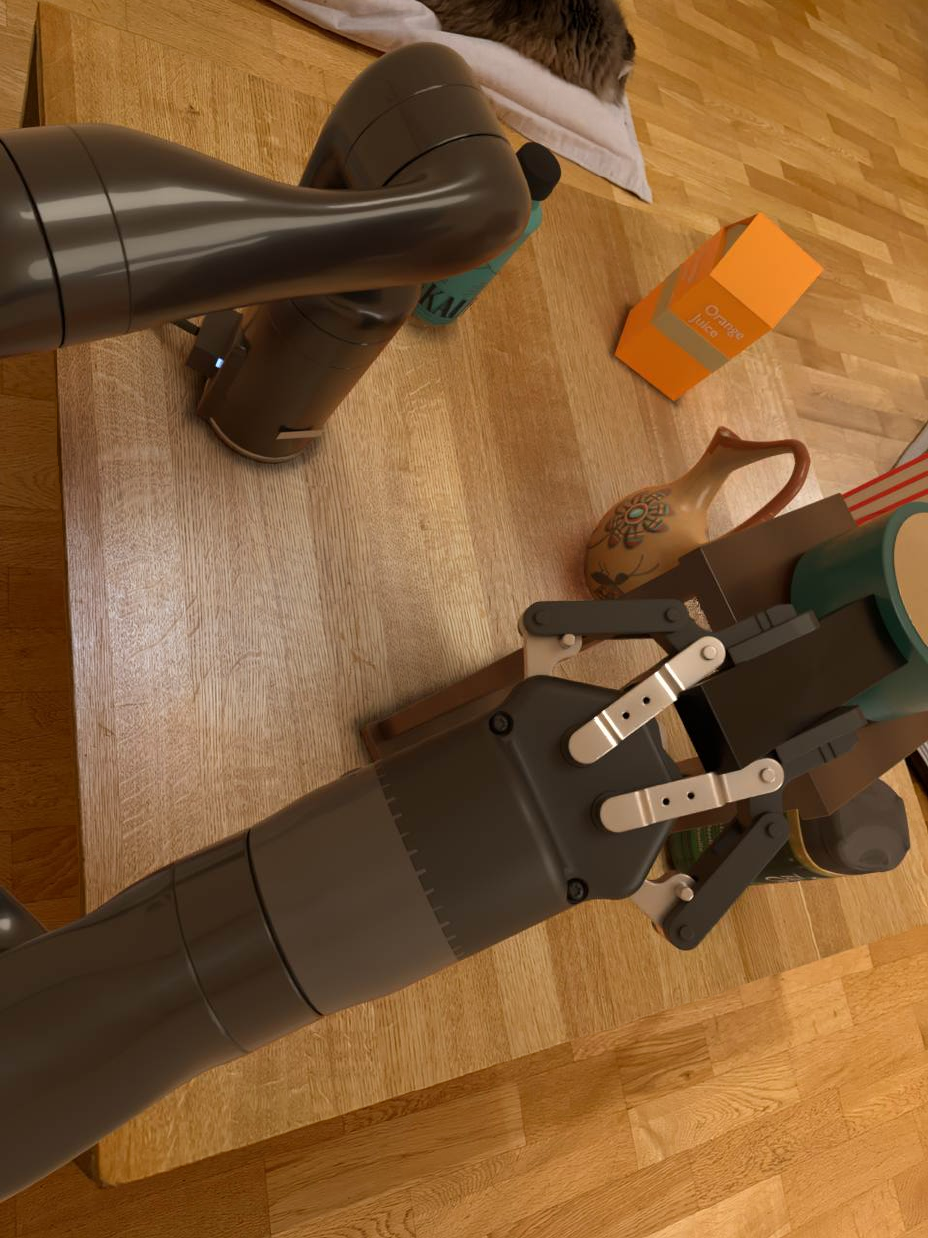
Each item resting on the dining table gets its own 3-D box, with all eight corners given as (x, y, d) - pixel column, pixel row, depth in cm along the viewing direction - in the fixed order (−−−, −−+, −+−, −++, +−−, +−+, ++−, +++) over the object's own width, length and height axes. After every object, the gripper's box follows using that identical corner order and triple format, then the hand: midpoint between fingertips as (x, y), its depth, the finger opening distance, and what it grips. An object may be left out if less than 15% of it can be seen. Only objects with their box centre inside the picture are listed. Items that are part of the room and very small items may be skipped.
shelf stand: (428, 886, 70) (829, 816, 41) (359, 727, 72) (699, 546, 42) (575, 802, 80) (990, 694, 50) (512, 663, 81) (879, 476, 51)
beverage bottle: (416, 266, 90) (532, 110, 74) (464, 317, 91) (589, 175, 75) (378, 297, 87) (492, 140, 70) (429, 350, 88) (553, 208, 72)
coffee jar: (667, 888, 82) (843, 868, 67) (660, 797, 85) (827, 758, 70) (747, 893, 86) (929, 875, 71) (738, 807, 89) (911, 771, 74)
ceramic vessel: (627, 670, 88) (850, 577, 67) (549, 633, 84) (759, 523, 64) (646, 526, 95) (852, 403, 75) (575, 486, 92) (770, 347, 72)
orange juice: (629, 309, 105) (765, 186, 89) (687, 356, 108) (829, 245, 91) (613, 355, 101) (752, 236, 85) (674, 402, 104) (820, 295, 88)
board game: (715, 555, 99) (950, 434, 77) (756, 562, 102) (994, 448, 80) (749, 747, 93) (1017, 674, 71) (792, 748, 96) (1062, 679, 74)
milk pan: (690, 862, 35) (797, 847, 31) (588, 644, 36) (679, 601, 32) (943, 685, 47) (1044, 657, 43) (862, 524, 48) (953, 482, 44)
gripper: (500, 1091, 29) (977, 853, 31) (319, 674, 30) (787, 469, 32) (482, 1020, 36) (867, 831, 38) (338, 688, 38) (716, 520, 40)
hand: (828, 667), depth 35 cm, fingers closed on milk pan, 3 cm apart
